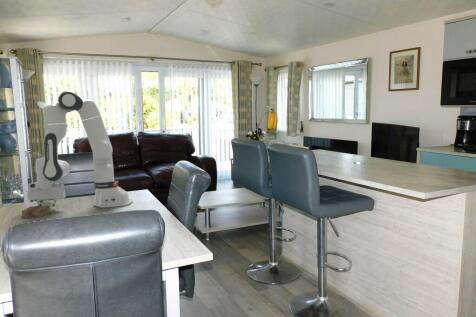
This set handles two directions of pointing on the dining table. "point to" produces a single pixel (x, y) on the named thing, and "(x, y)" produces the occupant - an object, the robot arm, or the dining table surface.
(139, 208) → the dining table surface
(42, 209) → the walnut block
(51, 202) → the sage cube
